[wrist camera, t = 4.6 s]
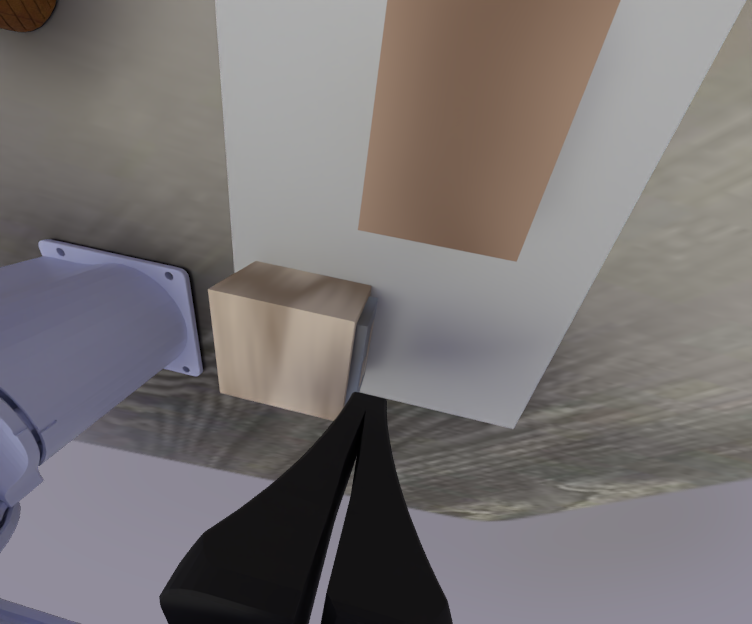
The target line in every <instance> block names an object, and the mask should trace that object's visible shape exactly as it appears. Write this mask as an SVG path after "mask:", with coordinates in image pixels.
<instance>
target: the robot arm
mask: <svg viewBox="0 0 752 624" xmlns="http://www.w3.org/2000/svg"><path fill="white" fill-rule="evenodd" d="M38 245H39V249H40V251H41V254H42V256H43V257H39V258H35V259H31V260H27V261H23V262H19V263H15V264H11V265H7V266H3V267H0V553H1V551H2V550H3V548H4V547H5V546H6V544H7V543H8V542H9V540H10V538H11V536H12V534H13V533H14V531H15V529H16V526H17V524H18V521H19V518H20V510H21V507H20V503H19V501H20V500H21V499H22V498H24V497H25V496H26V495H27V494H29V493H30V492H31V491H32V490H33V489H34V488H36V487H37V486H38V485H39V484H41V483H42V482H43V478H42V476H41V475H40V473H39V471H38V466H40V465H41V464H43V463H44V462H45V461H46V460H48V459H49V458H50V457H52V456H53V455H54V454H55V453H56V452H58V451H59V450H60V449H62V448H63V447H64V446H65V445H67V444H68V443H69V442H71V441H72V440H73V439H74V438H76V437H77V436H78V435H79V434H81V433H82V432H83V431H84V430H86V429H87V428H88V427H90V426H91V425H92V424H93V423H95V422H96V421H97V420H98V419H100V418H101V417H102V416H104V415H105V414H106V413H107V412H109V411H110V410H111V409H112V408H114V407H115V406H116V405H117V404H119V403H120V402H121V401H123V400H124V399H125V398H126V397H128V396H129V395H130V394H131V393H133V392H134V391H135V390H137V389H138V388H139V387H140V386H142V385H143V384H144V383H145V382H147V381H148V380H149V379H150V378H152V377H153V376H154V375H156V374H157V373H158V372H159V371H161V370H162V369H167V370H171V371H175V372H179V373H183V374H187V375H191V376H199V375H200V374H201V373H202V372H203V367H202V360H201V353H200V347H199V340H198V333H197V327H196V320H195V313H194V306H193V300H192V293H191V286H190V280H189V275H188V273H187V272H186V271H185V270H184V269H182V268H179V267H174V266H170V265H165V264H160V263H156V262H151V261H147V260H142V259H138V258H133V257H128V256H124V255H119V254H115V253H110V252H106V251H101V250H96V249H92V248H87V247H83V246H78V245H74V244H69V243H65V242H60V241H55V240H51V239H45V240H41V241H39V244H38ZM170 273H171V274H172V275H173V277H172V276H171V274H170ZM356 457H357V458H356ZM355 460H356V465H355V472H354V478H353V485H352V491H351V497H350V501H349V505H348V509H347V513H346V517H345V521H344V525H343V529H342V533H341V538H340V541H339V545H338V549H337V553H336V557H335V561H334V565H333V569H332V574H331V577H330V581H329V585H328V589H327V593H326V599H325V604H324V609H323V615H322V620H321V624H453V623H452V618H451V614H450V609H449V605H448V601H447V599H446V597H445V595H444V593H443V591H442V589H441V587H440V585H439V583H438V581H437V579H436V576H435V574H434V572H433V570H432V568H431V566H430V563H429V561H428V559H427V557H426V554H425V552H424V550H423V548H422V545H421V543H420V540H419V538H418V535H417V533H416V530H415V527H414V525H413V522H412V520H411V517H410V515H409V512H408V509H407V506H406V503H405V500H404V497H403V493H402V490H401V487H400V484H399V480H398V476H397V472H396V468H395V464H394V460H393V455H392V451H391V445H390V439H389V433H388V425H387V401H386V399H384V398H380V397H376V396H371V395H367V394H363V393H359V392H353V393H352V394H351V396H350V398H349V400H348V402H347V403H346V405H345V406H344V408H343V409H342V411H341V412H340V413H339V415H338V416H337V417H336V419H335V420H334V421H333V423H332V424H331V425H330V426H329V428H328V429H327V430H326V431H325V432H324V434H323V435H322V436H321V437H320V438H319V439H318V440H317V441H316V442H315V444H314V445H313V446H312V447H311V448H310V449H309V450H308V451H307V452H306V453H305V454H304V455H303V456H302V457H301V458H300V459H299V460H298V461H297V462H296V463H295V464H294V465H293V466H292V467H291V468H289V469H288V470H287V471H286V472H285V473H284V474H283V475H281V476H280V477H279V478H278V479H277V480H276V481H274V482H273V483H272V484H271V485H270V486H269V487H267V488H266V489H265V490H263V491H262V492H261V493H259V494H258V495H257V496H256V497H254V498H253V499H252V500H250V501H249V502H248V503H246V504H245V505H244V506H243V507H241V508H240V509H238V510H237V511H235V512H234V513H232V514H231V515H229V516H228V517H226V518H225V519H223V520H222V521H220V522H219V523H217V524H216V525H214V526H213V527H211V528H210V529H208V530H207V531H205V532H204V533H203V534H202V535H201V537H200V538H199V539H198V540H197V541H196V543H195V544H194V545H193V546H192V547H191V549H190V550H189V552H188V553H187V554H186V555H185V557H184V558H183V559H182V561H181V562H180V563H179V565H178V567H177V568H176V570H175V572H174V573H173V575H172V577H171V578H170V580H169V581H168V583H167V585H166V586H165V588H164V590H163V591H162V593H161V595H160V596H159V597H160V605H161V608H162V610H163V613H164V615H165V617H166V619H167V621H168V624H309V620H310V616H311V612H312V608H313V604H314V600H315V596H316V592H317V588H318V584H319V580H320V576H321V572H322V568H323V565H324V560H325V557H326V553H327V549H328V545H329V541H330V537H331V533H332V529H333V526H334V522H335V519H336V515H337V512H338V509H339V506H340V503H341V500H342V497H343V495H344V492H345V489H346V486H347V483H348V480H349V477H350V474H351V471H352V468H353V465H354V462H355ZM0 624H80V623H77V622H74V621H70V620H67V619H64V618H61V617H58V616H55V615H51V614H48V613H45V612H42V611H39V610H36V609H33V608H29V607H26V606H23V605H20V604H17V603H13V602H10V601H7V600H4V599H1V598H0Z"/></svg>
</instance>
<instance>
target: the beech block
mask: <svg viewBox="0 0 752 624" xmlns="http://www.w3.org/2000/svg"><path fill="white" fill-rule="evenodd" d="M371 288H372V286H371V285H367V284H362V283H357V282H353V281H348V280H343V279H339V278H334V277H329V276H324V275H320V274H315V273H310V272H306V271H301V270H296V269H292V268H287V267H282V266H278V265H273V264H268V263H263V262H259V261H255V262H253V263H251V264H249V265H248V266H246V267H244V268H243V269H241V270H239V271H238V272H236V273H234V274H233V275H231V276H229V277H227V278H226V279H224V280H222V281H221V282H219V283H217V284H216V285H214V286H212V287H211V288H209V289H208V295H209V303H210V312H211V320H212V328H213V337H214V345H215V353H216V362H217V370H218V378H219V387H220V393H223V394H227V395H231V396H235V397H239V398H243V399H247V400H251V401H255V402H259V403H263V404H267V405H272V406H276V407H280V408H284V409H288V410H292V411H296V412H300V413H304V414H308V415H312V416H316V417H320V418H324V419H328V420H332V421H334V420H335V419H336V417H337V416H338V415H339V413H340V412H341V411H342V409H343V408H344V406H345V405H346V403H347V402H348V400H349V398H350V396H351V394H352V393H353V392H360V388H361V385H362V382H363V379H364V376H365V370H366V365H367V359H368V354H369V348H370V342H371V337H372V331H373V326H374V320H375V315H376V309H377V303H378V298H375V297H371V296H370V294H371Z"/></svg>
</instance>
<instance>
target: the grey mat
mask: <svg viewBox="0 0 752 624" xmlns="http://www.w3.org/2000/svg"><path fill="white" fill-rule="evenodd" d="M745 2H746V0H621V1H620V3H619V6H618V8H617V11H616V13H615V16H614V18H613V21H612V23H611V26H610V28H609V31H608V33H607V36H606V38H605V41H604V43H603V46H602V48H601V51H600V54H599V56H598V59H597V61H596V64H595V66H594V69H593V71H592V74H591V76H590V79H589V81H588V84H587V86H586V89H585V91H584V94H583V96H582V99H581V101H580V104H579V106H578V109H577V111H576V114H575V116H574V119H573V121H572V124H571V126H570V129H569V131H568V134H567V136H566V139H565V141H564V144H563V146H562V149H561V151H560V154H559V157H558V159H557V162H556V164H555V167H554V169H553V172H552V174H551V177H550V179H549V182H548V184H547V187H546V189H545V192H544V194H543V197H542V199H541V202H540V204H539V207H538V209H537V212H536V214H535V217H534V219H533V222H532V224H531V227H530V229H529V232H528V234H527V237H526V239H525V242H524V244H523V247H522V249H521V252H520V255H519V257H518V260H517V262H515V261H510V260H505V259H500V258H495V257H490V256H485V255H480V254H475V253H470V252H465V251H460V250H455V249H450V248H445V247H440V246H435V245H430V244H425V243H420V242H415V241H410V240H405V239H400V238H395V237H390V236H385V235H380V234H375V233H370V232H365V231H360V230H358V225H359V217H360V209H361V202H362V194H363V186H364V178H365V170H366V163H367V155H368V147H369V139H370V131H371V123H372V116H373V108H374V100H375V92H376V84H377V77H378V69H379V61H380V53H381V45H382V37H383V30H384V22H385V14H386V6H387V0H215V8H216V22H217V36H218V50H219V64H220V78H221V92H222V106H223V120H224V134H225V148H226V162H227V176H228V190H229V204H230V218H231V232H232V246H233V260H234V273H236V272H238V271H239V270H241V269H243V268H244V267H246V266H248V265H249V264H251V263H253V262H255V261H259V262H263V263H268V264H273V265H278V266H282V267H287V268H292V269H296V270H301V271H306V272H310V273H315V274H320V275H324V276H329V277H334V278H339V279H343V280H348V281H353V282H357V283H362V284H367V285H371V286H372V288H371V294H370V296H371V297H375V298H378V303H377V309H376V315H375V320H374V326H373V331H372V337H371V342H370V348H369V354H368V359H367V365H366V370H365V376H364V379H363V382H362V385H361V388H360V392H361V393H365V394H369V395H374V396H378V397H382V398H386V399H390V400H395V401H399V402H403V403H407V404H411V405H415V406H420V407H424V408H428V409H432V410H436V411H440V412H445V413H449V414H453V415H457V416H461V417H465V418H470V419H474V420H478V421H482V422H486V423H491V424H495V425H499V426H503V427H507V428H511V429H514V427H515V425H516V423H517V421H518V420H519V418H520V416H521V414H522V412H523V410H524V409H525V407H526V405H527V403H528V401H529V399H530V398H531V396H532V394H533V392H534V390H535V388H536V387H537V385H538V383H539V381H540V379H541V377H542V375H543V374H544V372H545V370H546V368H547V366H548V364H549V363H550V361H551V359H552V357H553V355H554V353H555V352H556V350H557V348H558V346H559V344H560V342H561V341H562V339H563V337H564V335H565V333H566V331H567V329H568V328H569V326H570V324H571V322H572V320H573V318H574V317H575V315H576V313H577V311H578V309H579V307H580V306H581V304H582V302H583V300H584V298H585V296H586V295H587V293H588V291H589V289H590V287H591V285H592V283H593V282H594V280H595V278H596V276H597V274H598V272H599V271H600V269H601V267H602V265H603V263H604V261H605V260H606V258H607V256H608V254H609V252H610V250H611V249H612V247H613V245H614V243H615V241H616V239H617V237H618V236H619V234H620V232H621V230H622V228H623V226H624V225H625V223H626V221H627V219H628V217H629V215H630V214H631V212H632V210H633V208H634V206H635V204H636V203H637V201H638V199H639V197H640V195H641V193H642V191H643V190H644V188H645V186H646V184H647V182H648V180H649V179H650V177H651V175H652V173H653V171H654V169H655V168H656V166H657V164H658V162H659V160H660V158H661V157H662V155H663V153H664V151H665V149H666V147H667V145H668V144H669V142H670V140H671V138H672V136H673V134H674V133H675V131H676V129H677V127H678V125H679V123H680V122H681V120H682V118H683V116H684V114H685V112H686V111H687V109H688V107H689V105H690V103H691V101H692V99H693V98H694V96H695V94H696V92H697V90H698V88H699V87H700V85H701V83H702V81H703V79H704V77H705V76H706V74H707V72H708V70H709V68H710V66H711V65H712V63H713V61H714V59H715V57H716V55H717V53H718V52H719V50H720V48H721V46H722V44H723V42H724V41H725V39H726V37H727V35H728V33H729V31H730V30H731V28H732V26H733V24H734V22H735V20H736V19H737V17H738V15H739V13H740V11H741V9H742V7H743V6H744V4H745Z"/></svg>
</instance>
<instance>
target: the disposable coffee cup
mask: <svg viewBox="0 0 752 624" xmlns="http://www.w3.org/2000/svg"><path fill="white" fill-rule="evenodd" d="M55 3H56V0H0V28H2V29H7V30H12V31H18V32H27V31H32V30H34V29H36V28H39V27H41V26H42V25H43V23H44V22H45V21H46V20H47V19H48V18H49V17H50V15H51V13H52V11H53V9H54V7H55Z"/></svg>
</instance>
